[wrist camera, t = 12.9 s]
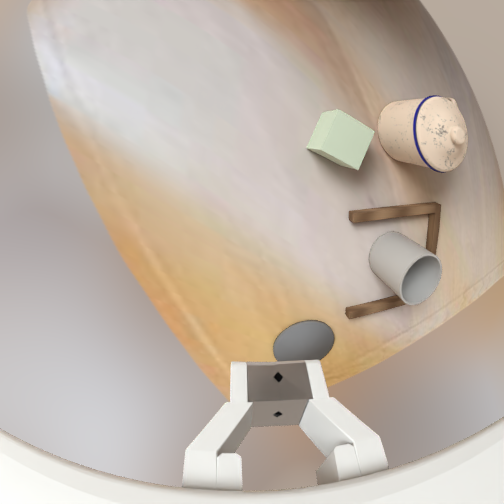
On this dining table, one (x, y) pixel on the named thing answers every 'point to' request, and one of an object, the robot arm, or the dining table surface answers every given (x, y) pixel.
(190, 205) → the dining table surface
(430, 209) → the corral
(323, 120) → the sage box
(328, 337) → the slate coaster
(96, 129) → the dining table surface
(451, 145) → the teacup with lid
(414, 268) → the cup
